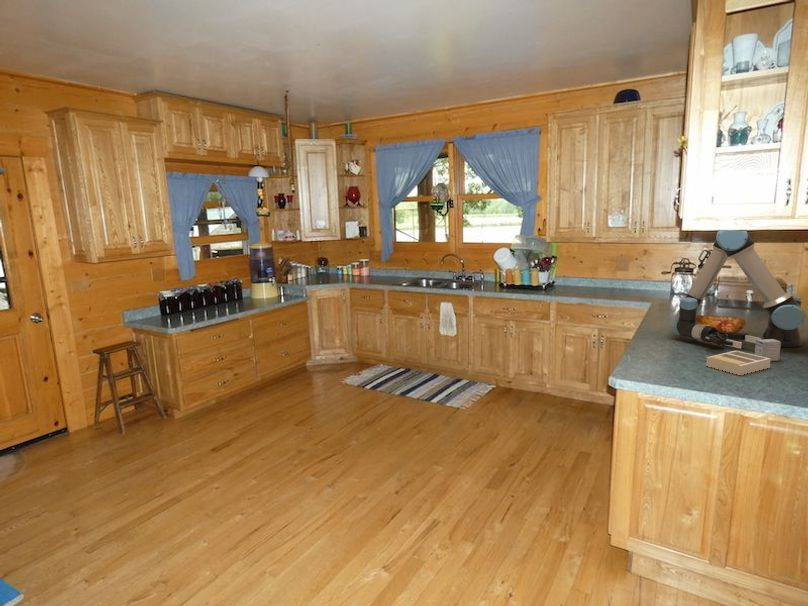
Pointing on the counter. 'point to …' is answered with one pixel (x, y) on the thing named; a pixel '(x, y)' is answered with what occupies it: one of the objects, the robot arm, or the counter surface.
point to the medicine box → (768, 349)
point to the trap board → (738, 362)
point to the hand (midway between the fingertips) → (751, 343)
